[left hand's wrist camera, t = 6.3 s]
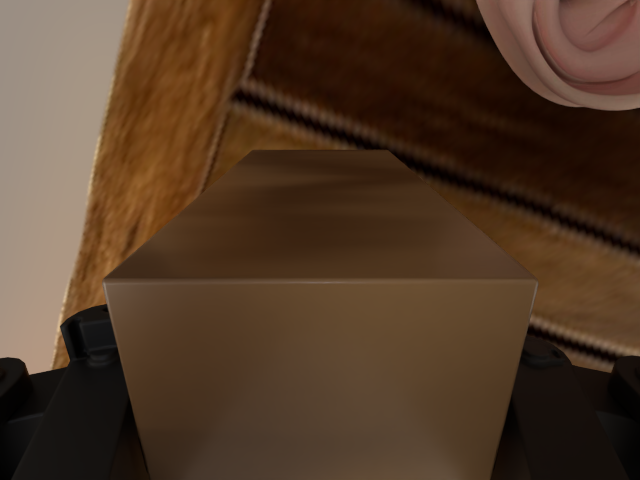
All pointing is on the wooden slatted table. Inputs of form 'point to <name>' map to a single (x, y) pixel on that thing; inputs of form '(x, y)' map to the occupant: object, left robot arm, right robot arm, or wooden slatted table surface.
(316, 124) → the wooden slatted table surface
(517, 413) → the left robot arm
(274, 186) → the block
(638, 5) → the anatomical model
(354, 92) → the wooden slatted table surface
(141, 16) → the wooden slatted table surface
